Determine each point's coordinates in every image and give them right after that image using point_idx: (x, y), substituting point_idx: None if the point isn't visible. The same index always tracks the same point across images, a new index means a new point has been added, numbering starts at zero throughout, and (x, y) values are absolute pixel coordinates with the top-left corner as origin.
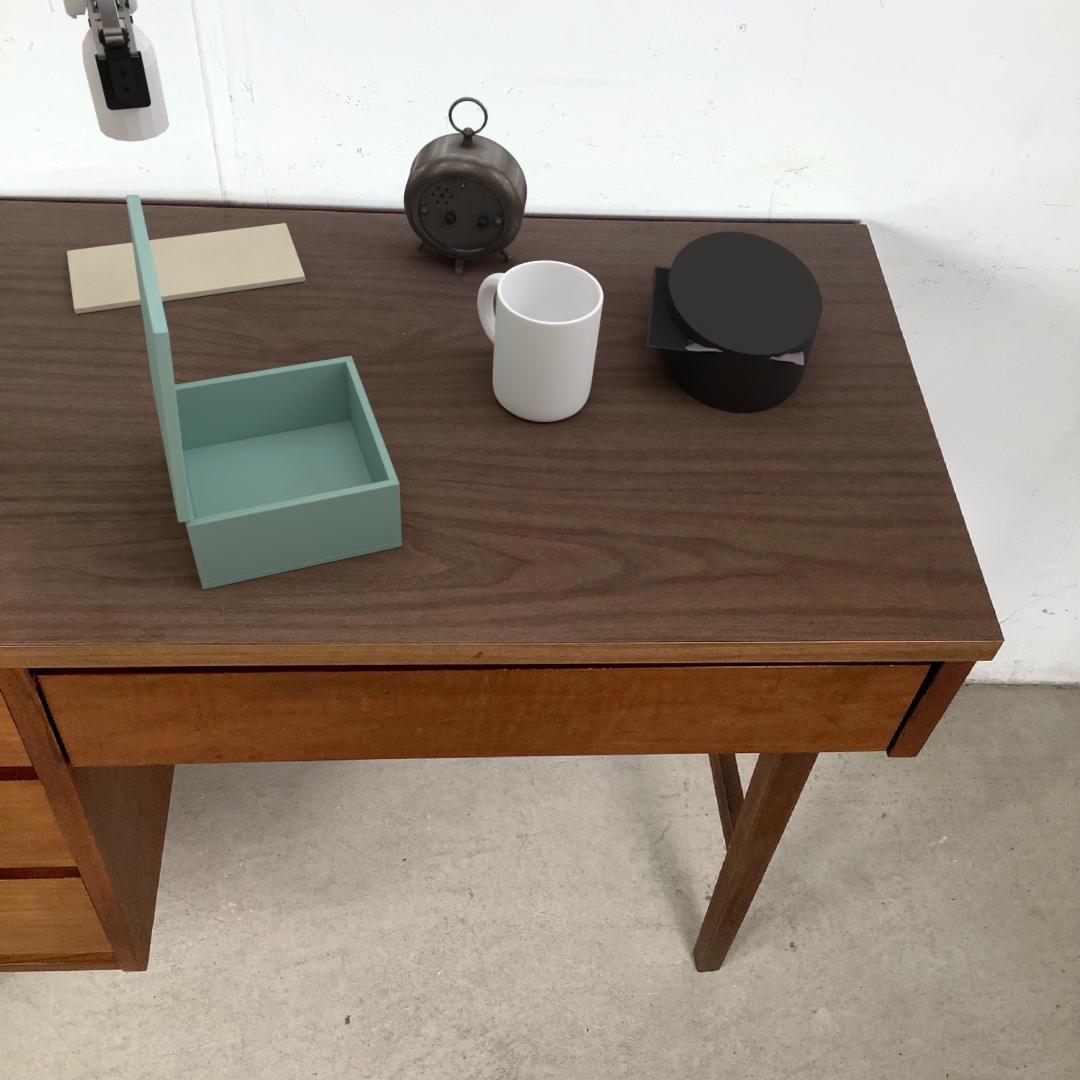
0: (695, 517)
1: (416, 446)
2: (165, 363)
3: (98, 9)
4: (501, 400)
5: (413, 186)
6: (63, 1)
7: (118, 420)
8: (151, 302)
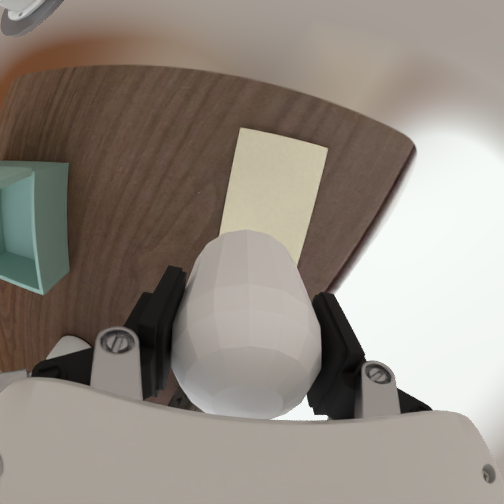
0: (22, 350)
1: (51, 288)
2: None
3: None
4: (67, 337)
5: (188, 406)
6: (53, 416)
7: (106, 132)
8: None
